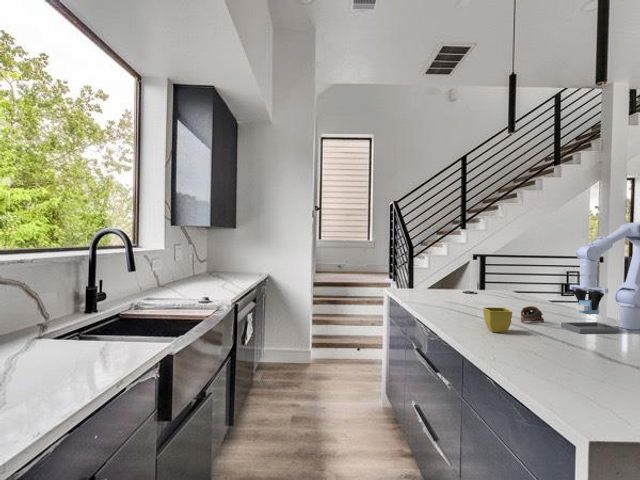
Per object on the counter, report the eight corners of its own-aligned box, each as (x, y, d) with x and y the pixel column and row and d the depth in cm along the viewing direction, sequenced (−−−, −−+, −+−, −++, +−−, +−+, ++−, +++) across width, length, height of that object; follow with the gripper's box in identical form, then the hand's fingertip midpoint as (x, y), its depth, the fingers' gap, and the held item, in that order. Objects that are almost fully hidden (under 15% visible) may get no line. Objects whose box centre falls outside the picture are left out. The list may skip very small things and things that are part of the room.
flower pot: (504, 329, 166) (504, 307, 166) (512, 334, 157) (512, 311, 157) (482, 328, 167) (482, 307, 167) (489, 333, 158) (489, 310, 158)
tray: (597, 326, 170) (597, 321, 170) (618, 333, 158) (618, 328, 158) (561, 327, 169) (561, 322, 169) (580, 333, 158) (580, 328, 158)
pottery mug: (550, 325, 175) (545, 310, 173) (531, 335, 175) (526, 320, 173) (533, 313, 187) (528, 299, 184) (515, 322, 187) (509, 308, 184)
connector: (589, 311, 168) (590, 299, 168) (600, 313, 164) (601, 301, 164) (574, 313, 164) (575, 300, 164) (585, 315, 160) (586, 302, 160)
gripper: (564, 274, 170) (564, 306, 170) (599, 277, 156) (599, 312, 156) (576, 274, 172) (576, 305, 172) (611, 276, 159) (611, 311, 159)
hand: (588, 309), depth 164 cm, fingers closed on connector, 4 cm apart
